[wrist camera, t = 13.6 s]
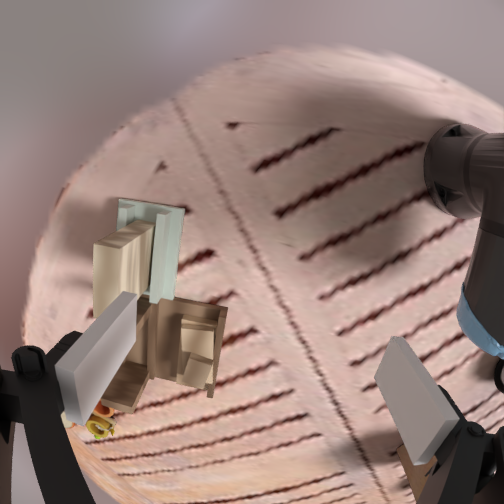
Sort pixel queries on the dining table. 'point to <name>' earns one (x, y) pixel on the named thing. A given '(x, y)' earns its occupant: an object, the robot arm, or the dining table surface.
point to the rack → (169, 349)
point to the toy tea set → (96, 421)
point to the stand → (157, 242)
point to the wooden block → (415, 471)
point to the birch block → (122, 263)
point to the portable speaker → (499, 376)
